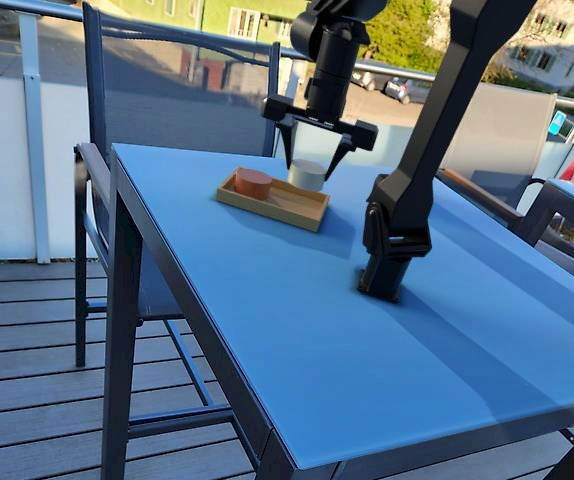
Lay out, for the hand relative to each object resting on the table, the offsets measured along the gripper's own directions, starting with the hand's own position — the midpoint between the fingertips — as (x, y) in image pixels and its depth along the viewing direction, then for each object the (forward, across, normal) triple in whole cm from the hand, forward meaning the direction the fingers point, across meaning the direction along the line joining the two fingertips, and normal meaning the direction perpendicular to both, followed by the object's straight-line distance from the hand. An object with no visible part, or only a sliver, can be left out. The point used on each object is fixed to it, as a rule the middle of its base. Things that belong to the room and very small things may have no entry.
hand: (307, 175), depth 84 cm
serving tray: (+6, +4, 0) cm, 8 cm away
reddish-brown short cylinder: (+6, +9, 0) cm, 11 cm away
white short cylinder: (+2, 0, 0) cm, 2 cm away
